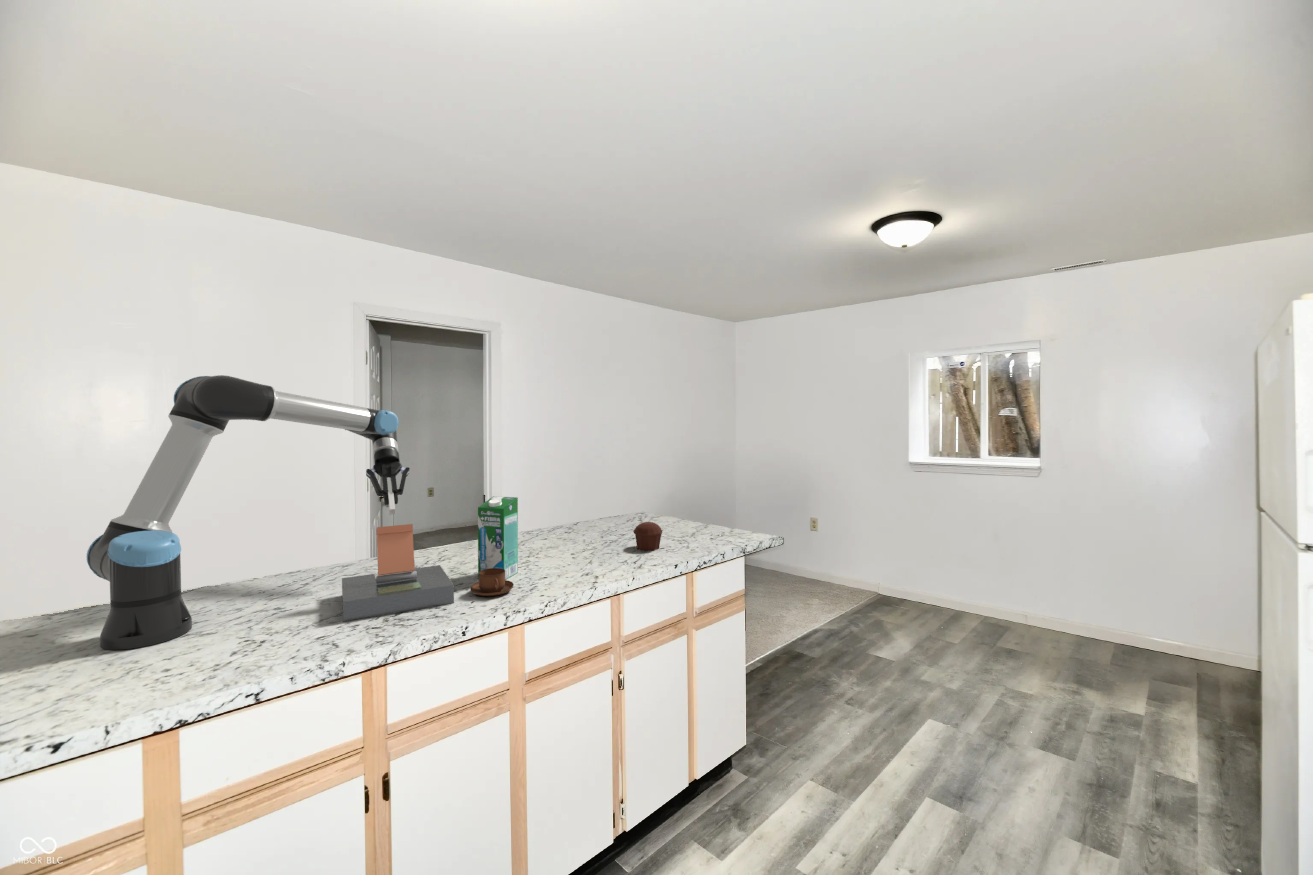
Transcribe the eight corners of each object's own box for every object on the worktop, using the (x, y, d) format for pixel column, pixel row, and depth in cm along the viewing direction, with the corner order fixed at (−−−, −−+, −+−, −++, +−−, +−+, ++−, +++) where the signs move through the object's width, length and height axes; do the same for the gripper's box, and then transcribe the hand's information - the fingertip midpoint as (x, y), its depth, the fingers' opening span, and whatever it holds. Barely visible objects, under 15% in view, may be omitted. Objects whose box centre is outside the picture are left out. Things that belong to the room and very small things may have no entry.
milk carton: (477, 578, 164) (477, 499, 163) (493, 570, 173) (493, 495, 172) (503, 580, 162) (503, 501, 161) (518, 572, 171) (517, 496, 170)
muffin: (650, 542, 213) (650, 518, 213) (668, 548, 205) (668, 523, 204) (627, 547, 205) (627, 522, 205) (644, 553, 197) (645, 527, 197)
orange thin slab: (376, 584, 144) (374, 529, 147) (415, 578, 149) (413, 525, 153) (377, 583, 141) (375, 527, 145) (417, 577, 146) (414, 523, 150)
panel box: (342, 595, 148) (341, 577, 148) (439, 580, 162) (439, 564, 161) (343, 621, 129) (343, 600, 129) (453, 602, 143) (453, 583, 143)
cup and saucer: (521, 591, 153) (521, 570, 153) (485, 602, 144) (485, 580, 144) (498, 583, 161) (498, 563, 160) (462, 593, 151) (462, 572, 151)
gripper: (406, 460, 181) (414, 516, 167) (363, 462, 174) (367, 520, 160) (408, 446, 176) (416, 502, 163) (364, 447, 169) (368, 506, 156)
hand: (392, 511), depth 162 cm, fingers closed
